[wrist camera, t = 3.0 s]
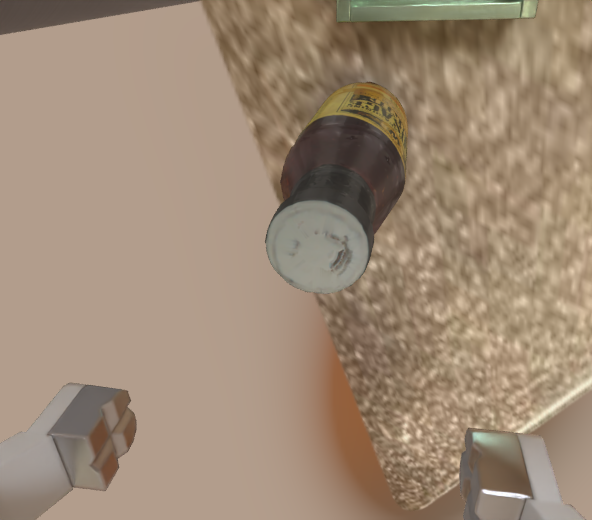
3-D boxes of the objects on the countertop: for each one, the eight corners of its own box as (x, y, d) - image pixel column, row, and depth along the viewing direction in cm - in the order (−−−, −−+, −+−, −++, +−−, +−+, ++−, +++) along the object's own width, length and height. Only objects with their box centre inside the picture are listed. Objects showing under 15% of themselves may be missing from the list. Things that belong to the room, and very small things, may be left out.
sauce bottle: (424, 132, 35) (447, 285, 18) (351, 180, 38) (313, 351, 21) (371, 53, 33) (342, 142, 16) (298, 109, 36) (209, 236, 19)
